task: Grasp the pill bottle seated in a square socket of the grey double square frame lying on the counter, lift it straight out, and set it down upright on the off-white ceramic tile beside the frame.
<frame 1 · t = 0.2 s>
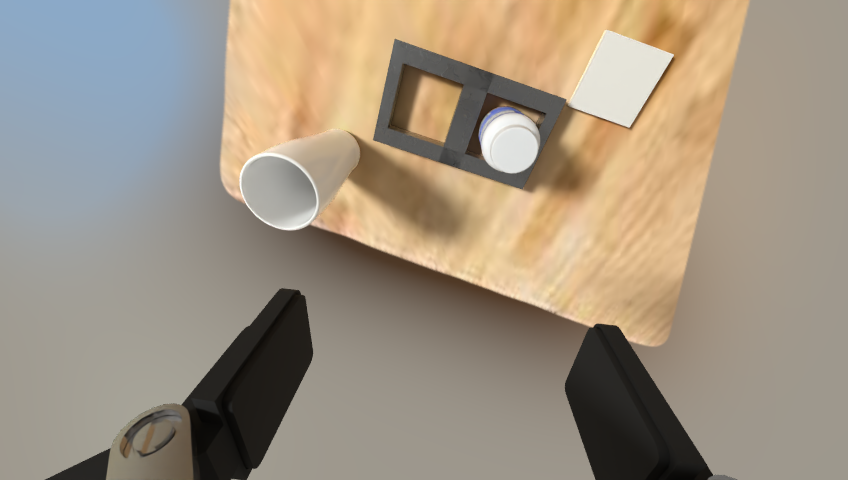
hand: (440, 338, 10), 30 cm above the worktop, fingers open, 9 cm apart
pill bottle: (501, 130, 35), resting in grey double square frame
drinking glass: (340, 149, 38), on the worktop
tile: (616, 81, 32), on the worktop
grey double square frame: (464, 118, 35), on the worktop
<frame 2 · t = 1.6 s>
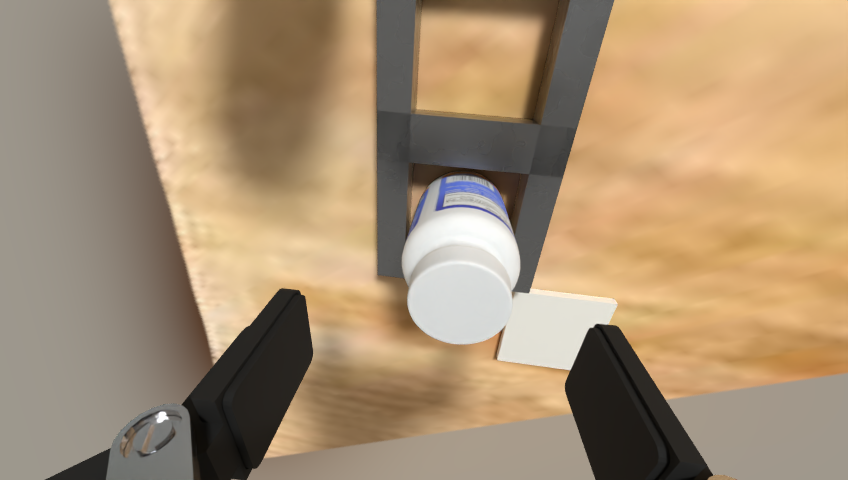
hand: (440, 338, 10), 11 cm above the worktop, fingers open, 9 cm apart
pill bottle: (461, 208, 20), resting in grey double square frame
tile: (550, 328, 24), on the worktop
grey double square frame: (470, 137, 18), on the worktop
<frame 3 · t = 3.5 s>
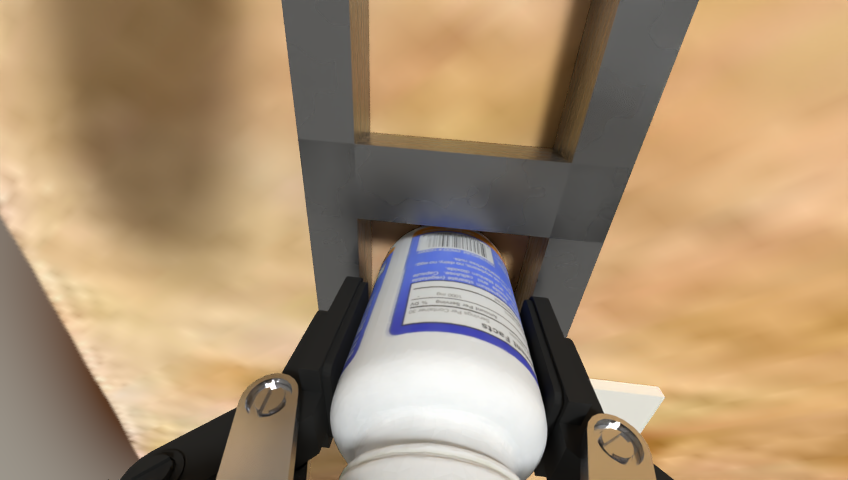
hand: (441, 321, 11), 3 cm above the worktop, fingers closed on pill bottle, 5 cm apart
pill bottle: (444, 271, 14), resting in grey double square frame, touching gripper
tile: (568, 419, 18), on the worktop
grey double square frame: (456, 174, 12), on the worktop
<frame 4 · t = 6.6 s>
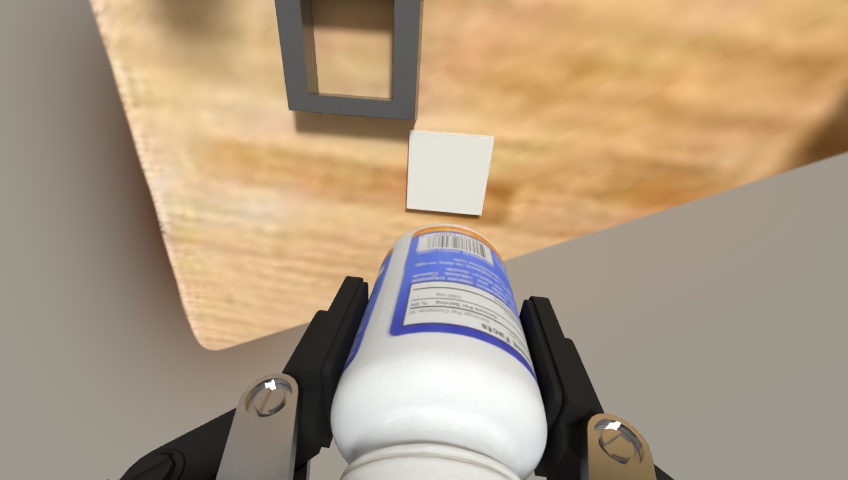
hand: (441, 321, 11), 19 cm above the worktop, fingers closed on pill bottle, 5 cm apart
pill bottle: (443, 271, 14), point 16 cm above the worktop, touching gripper
tile: (447, 173, 28), on the worktop
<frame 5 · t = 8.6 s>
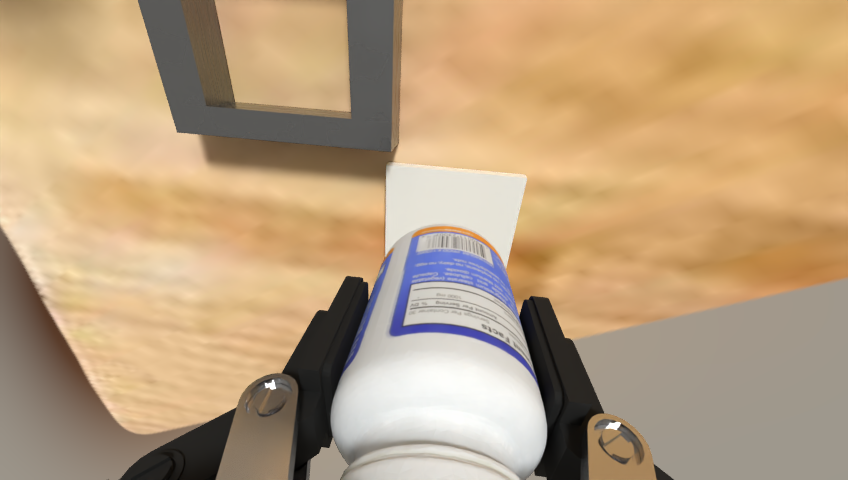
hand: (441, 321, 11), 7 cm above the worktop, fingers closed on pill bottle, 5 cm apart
pill bottle: (443, 271, 14), point 4 cm above the worktop, touching gripper
tile: (448, 228, 18), on the worktop
when the fingers open (5 cm above the worktop, at t = 10.0 s): pill bottle drops 1 cm, resting on tile.
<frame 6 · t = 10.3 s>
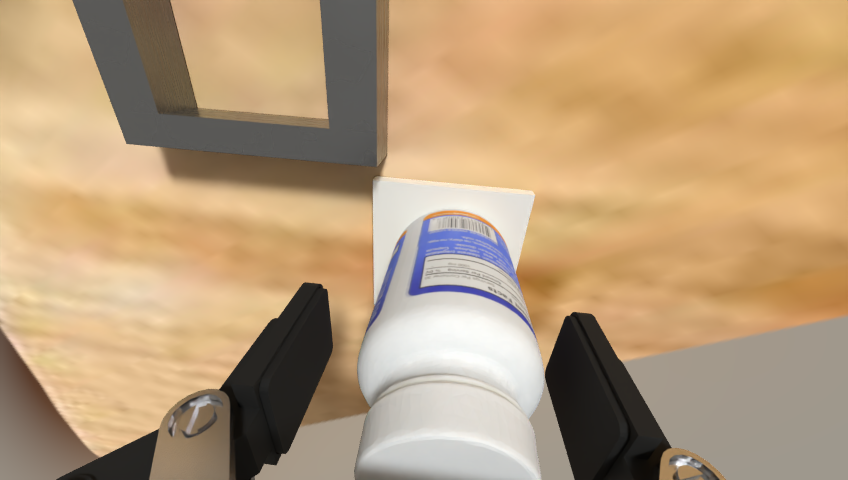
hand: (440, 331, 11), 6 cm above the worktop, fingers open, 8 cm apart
pill bottle: (451, 254, 15), resting on tile
tile: (445, 250, 16), on the worktop
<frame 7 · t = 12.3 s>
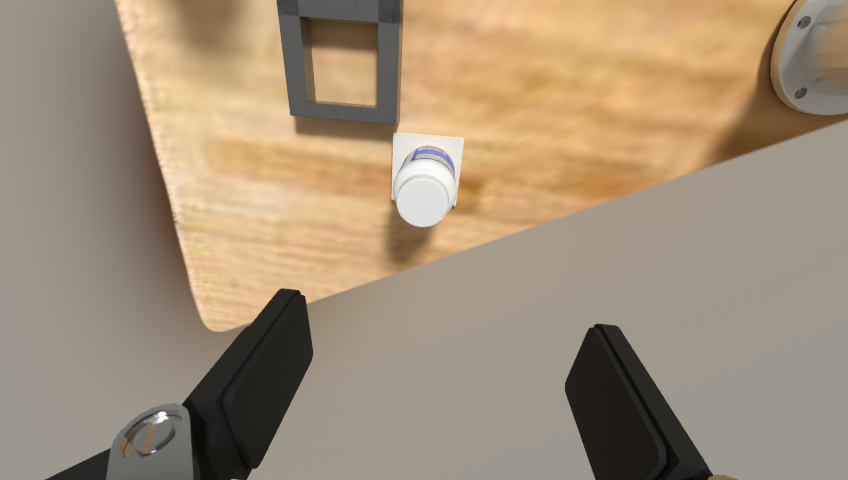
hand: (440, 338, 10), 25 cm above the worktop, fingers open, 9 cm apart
pill bottle: (428, 170, 32), resting on tile
tile: (426, 169, 33), on the worktop
grey double square frame: (345, 5, 27), on the worktop
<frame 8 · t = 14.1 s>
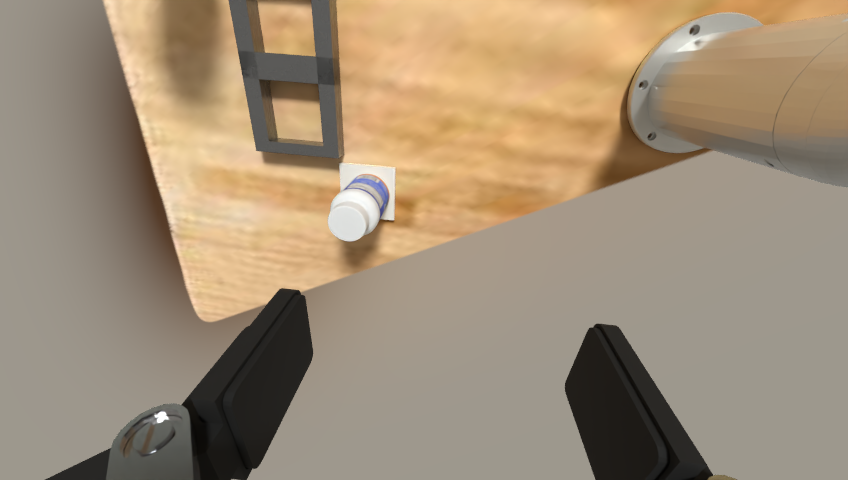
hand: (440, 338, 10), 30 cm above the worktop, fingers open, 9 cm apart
pill bottle: (370, 192, 40), resting on tile
tile: (368, 191, 41), on the worktop
grey double square frame: (295, 68, 35), on the worktop
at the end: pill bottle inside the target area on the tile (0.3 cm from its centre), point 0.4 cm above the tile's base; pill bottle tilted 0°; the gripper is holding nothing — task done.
